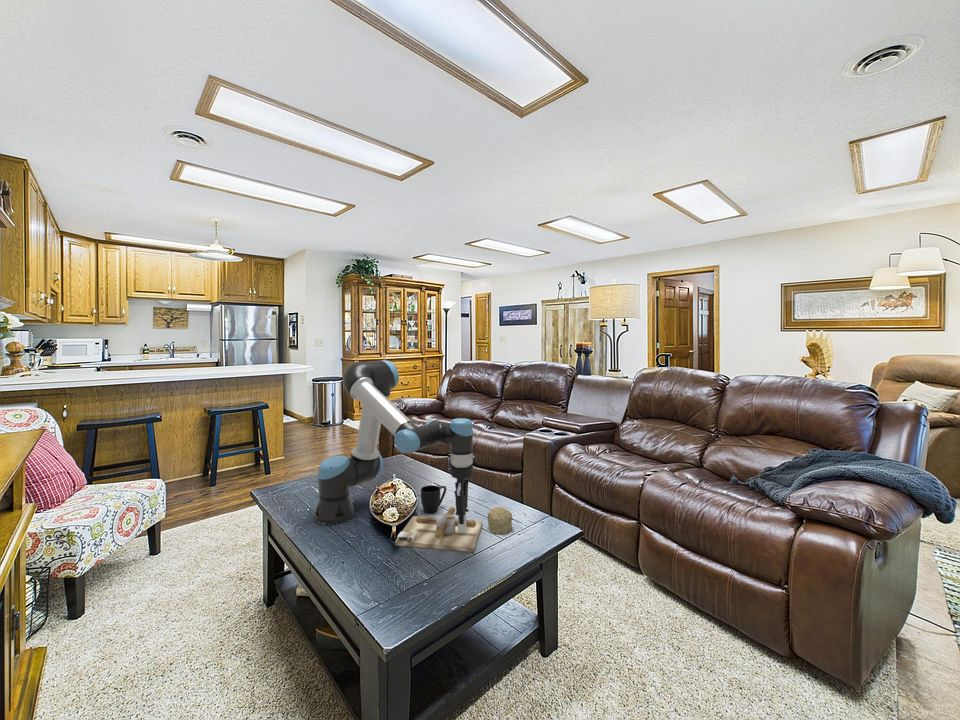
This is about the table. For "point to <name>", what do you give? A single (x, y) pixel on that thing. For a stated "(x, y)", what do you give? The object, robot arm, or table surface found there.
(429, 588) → the table surface
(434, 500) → the mug
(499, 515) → the decorative object
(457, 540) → the stand
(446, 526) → the capstan
